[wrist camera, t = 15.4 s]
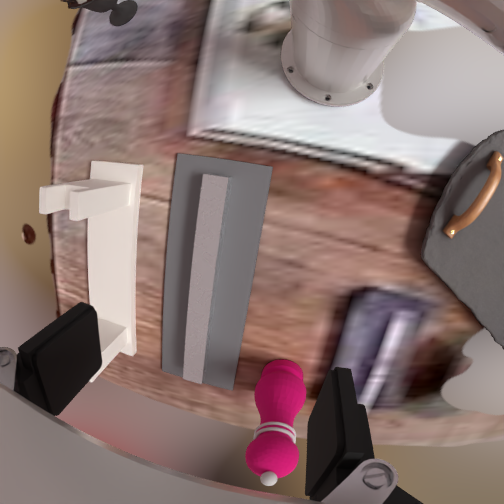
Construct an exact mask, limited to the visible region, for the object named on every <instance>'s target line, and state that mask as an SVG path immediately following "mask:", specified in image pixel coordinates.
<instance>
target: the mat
mask: <svg viewBox="0 0 504 504" xmlns="http://www.w3.org/2000/svg"><path fill="white" fill-rule="evenodd" d="M272 169H273V167H270V166H264V165H258V164H252V163H246V162H239V161H233V160H226V159H219V158H212V157H204V156H196V155H188V154H179V153H178V155H177V162H176V170H175V177H174V185H173V193H172V202H171V211H170V221H169V232H168V243H167V256H166V270H165V286H164V306H163V339H162V371H164V372H167V373H170V374H173V375H177V376H180V377H183V370H184V353H185V338H186V324H187V311H188V300H189V289H190V278H191V268H192V259H193V250H194V241H195V232H196V224H197V216H198V208H199V201H200V193H201V186H202V179H203V174H207V173H211V174H218V175H224V176H230V177H233V181H232V187H231V193H230V200H229V206H228V213H227V219H226V226H225V233H224V240H223V247H222V254H221V261H220V268H219V275H218V282H217V290H216V298H215V305H214V313H213V321H212V329H211V337H210V346H209V354H208V363H207V371H206V376H205V378H204V380H203V383H205V384H209V385H212V386H216V387H220V388H224V389H228V390H233V386H234V381H235V375H236V370H237V364H238V359H239V354H240V348H241V343H242V337H243V332H244V326H245V321H246V315H247V310H248V304H249V299H250V293H251V287H252V282H253V276H254V271H255V265H256V260H257V254H258V248H259V243H260V237H261V231H262V226H263V220H264V214H265V209H266V203H267V197H268V192H269V186H270V180H271V175H272Z"/></svg>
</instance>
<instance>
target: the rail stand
mask: <svg viewBox="0 0 504 504" xmlns="http://www.w3.org/2000/svg"><path fill="white" fill-rule="evenodd" d="M142 174H143V165H141V164H131V163H121V162H110V161H92V162H91V173H90V179H88V180H81V181H74V182H67V183H61V184H55V185H49V186H43V187H40V199H39V213H42V214H49V213H53V212H56V211H60V210H64V209H67V210H70V220H74V221H80V220H83V219H86V218H88V281H89V298H90V305H91V306H93V307H94V309H95V311H96V312H97V317H98V328H99V338H100V347H101V355H102V366H101V368H100V369H99V371H98V372H97V373H96V374H95V375H94V376H93V377H92V378H91V379H90V380H89V381H90V382H93V381H94V380H95V378H96V377H97V376H98V375H99V374H100V373H101V372H102V371H103V370H104V368H105V367H106V366H107V365H108V364H109V363H110V362H111V361H112V360H113V358H114V357H115V356H116V355H117V354H118V353H119V352H122V353H125V354H128V355H130V356H133V355H134V354H135V353H136V352H137V351H136V319H135V281H136V249H137V231H138V216H139V204H140V193H141V183H142Z"/></svg>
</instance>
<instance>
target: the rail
mask: <svg viewBox="0 0 504 504" xmlns="http://www.w3.org/2000/svg"><path fill="white" fill-rule="evenodd" d="M232 181H233V177H230V176H224V175H218V174H211V173H207V174H203V179H202V186H201V193H200V201H199V208H198V216H197V224H196V232H195V241H194V250H193V259H192V268H191V278H190V289H189V300H188V311H187V324H186V338H185V353H184V370H183V379H185V380H188V381H192V382H195V383H199V384H202V383H203V380H204V378H205V376H206V371H207V363H208V354H209V346H210V337H211V329H212V321H213V313H214V305H215V298H216V290H217V282H218V275H219V268H220V261H221V254H222V247H223V240H224V233H225V226H226V219H227V213H228V206H229V200H230V193H231V187H232Z"/></svg>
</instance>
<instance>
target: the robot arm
mask: <svg viewBox="0 0 504 504" xmlns="http://www.w3.org/2000/svg"><path fill="white" fill-rule="evenodd" d="M289 1H290V12H291V24H292V29H291V30H290V32H289V33H288V34H287V36H286V37H285V39H284V41H283V44H282V48H281V63H282V67H283V70H284V73H285V75H286V77H287V79H288V80H289V82H290V83H291V84H292V86H293V87H294V88H295V89H296V90H297V91H298V92H299V93H301V94H302V95H303V96H305V97H307V98H308V99H310V100H312V101H314V102H317V103H319V104H323V105H327V106H336V107H342V106H350V105H353V104H357V103H359V102H361V101H363V100H365V99H366V98H368V97H369V96H370V95H371V94H373V93H374V91H375V90H376V89H377V88H378V86H379V84H380V83H381V80H382V77H383V73H384V58H385V57H386V56H387V55H388V53H389V52H390V51H391V50H392V48H393V47H394V46H395V45H396V44H397V42H398V41H399V40H400V39H401V38H402V36H403V35H404V34H405V32H406V31H407V30H408V29H409V27H410V25H411V24H412V22H413V20H414V16H415V13H416V5H417V2H416V1H418V2H422V3H424V4H426V5H428V6H430V7H431V8H433V9H435V10H437V11H439V12H440V13H442V14H444V15H445V16H447V17H449V18H450V19H452V20H454V21H455V22H457V23H459V24H460V25H462V26H463V27H465V28H466V29H468V30H469V31H471V32H472V33H474V34H475V35H477V36H478V37H479V38H481V39H482V40H484V41H485V42H487V43H488V44H489V45H491V46H492V47H493V48H495V49H496V50H497V51H499V52H500V53H501V54H503V55H504V0H289ZM290 70H292V71H293V72H292V73H289V71H290ZM367 86H369V87H370V89H368V88H367ZM326 97H327V98H329V101H326V100H325V98H326ZM18 350H19V353H18V354H16V353H15V351H14V350H12V349H11V348H8V347H0V504H423V503H421V502H420V501H418V500H417V499H415V498H414V497H412V496H411V495H410V494H408V493H407V492H405V491H404V490H402V489H401V488H400V487H398V486H397V483H398V474H397V471H396V470H395V468H394V467H393V466H392V465H391V464H390V463H388V462H386V461H384V460H380V459H375V458H374V452H373V446H372V440H371V434H370V429H369V423H368V418H367V413H366V408H365V406H364V405H363V404H357V399H356V393H355V388H354V382H353V377H352V372H351V369H348V368H341V367H335V369H334V370H329V372H328V374H327V376H326V379H325V382H324V384H323V386H322V389H321V391H320V394H319V396H318V399H317V401H316V403H315V406H314V408H313V410H312V413H311V415H310V417H309V421H308V433H307V463H306V464H307V465H306V484H305V485H306V486H305V495H306V496H310V500H307V499H302V498H296V497H290V496H284V495H278V494H271V493H266V492H260V491H255V490H250V489H245V488H240V487H236V486H231V485H227V484H222V483H218V482H214V481H210V480H207V479H203V478H199V477H196V476H192V475H189V474H186V473H182V472H179V471H176V470H173V469H170V468H167V467H164V466H161V465H158V464H155V463H153V462H150V461H147V460H145V459H142V458H140V457H137V456H135V455H132V454H130V453H127V452H125V451H122V450H120V449H118V448H116V447H113V446H111V445H109V444H107V443H105V442H102V441H100V440H98V439H96V438H94V437H92V436H90V435H88V434H86V433H84V432H82V431H80V430H78V429H76V428H74V427H73V426H71V425H69V424H67V423H65V422H64V421H62V420H60V419H58V418H57V417H55V415H56V416H57V415H59V414H60V413H61V412H62V411H63V409H64V408H65V407H66V406H67V405H68V404H69V403H70V402H71V400H72V399H73V398H74V397H75V396H76V395H77V394H78V392H80V390H81V389H82V388H83V387H84V386H85V385H86V384H87V383H88V382H89V380H90V379H91V378H92V377H93V376H94V375H95V374H96V373H97V372H98V371H99V369H100V368H101V366H102V355H101V347H100V338H99V328H98V317H97V312H96V311H95V309H94V307H93V306H91V305H89V304H86V303H83V302H80V303H78V304H77V305H76V306H74V307H73V308H71V309H70V310H69V311H67V312H66V313H64V314H63V315H62V316H60V317H59V318H57V319H56V320H55V321H53V322H52V323H50V324H49V325H48V326H46V327H45V328H44V329H42V330H41V331H40V332H38V333H37V334H36V335H34V336H33V337H32V338H30V339H29V340H28V341H26V342H25V343H24V344H22V345H21V346H20V347H18Z"/></svg>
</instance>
